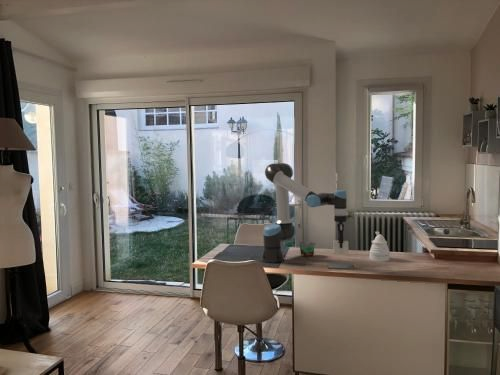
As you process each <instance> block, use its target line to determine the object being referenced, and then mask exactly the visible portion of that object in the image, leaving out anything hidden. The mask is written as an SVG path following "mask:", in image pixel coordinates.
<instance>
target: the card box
mask: <svg viewBox="0 0 500 375" xmlns="http://www.w3.org/2000/svg"><path fill="white" fill-rule="evenodd" d="M343 241H344V242H343V253H342V254H349V241H348V240H343ZM332 242H333V243H332V244H333V245H332V246H333V248H332V250H333V254H340V253H339V243H338V242H339V240H332Z"/></svg>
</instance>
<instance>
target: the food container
mask: <svg viewBox="0 0 500 375" xmlns="http://www.w3.org/2000/svg"><path fill="white" fill-rule="evenodd" d="M298 245H299V250H300V256H301V257H303V258H311V257H314V255H315V246H316V241H315V240H313V241H305V242H301V241H299V242H298Z"/></svg>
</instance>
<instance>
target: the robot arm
mask: <svg viewBox="0 0 500 375" xmlns="http://www.w3.org/2000/svg"><path fill="white" fill-rule="evenodd" d="M264 175H265V178H266V179H267V180H268V181H269V182H271V183H273V185H275V197H276V217H277V218H276V219H277V220H276V221H275V223H272V224H267V225H265V226H264V228H263V250H262V252H261V253H262V254H261V257H260V259H261V260H262V261H261V262H263V261H264V263H268V262H271V263H272V264H273V263H274V264H275V263H276V262H277V263H281V262H283V261H285V260H284V259H285V258H284V254H283V250H282V243H285V242H290V241H291V240H293V239H294V238H295V236H296V233H297V232H296V231H297V229H296V227H295V225H293V221H292V220H291V217H290V216H291V213H290V197H289V196H290V195H289V194H290V193H291V194H293V195H294V196H296V197H298V198H300V199H301V200H302V201H304V202H305V203H306V204H307V206H308V207H310V208H317V207H322V206H333V209H334V210H333V213H334V216H333V217H334V219H333V220H334V222H336V223H337V235H338V236H337V241H339V242H338V243H339V253H338V254H344V253H343V242H344V241H345V240H344V232H345V230H344V229H345V224H344V223H346V222H347V219H348V217H347V212H348V210H349V209H347V198H348V197H347V191H346V190H340V189H337V190H334V191H333V193H331V192H319V193H316V192H314V191H313V190H310V189H309V188H307V187H306V186H304V185H303V184H301V183H299V182H297V181H296V180H294V179H292V177H293V175H294V170H293V168H292V166H291V165H290V164H288V163H286V162H285V163H284V162H283V163H282V162H280V163H278V162H277V163H270V164H268V165H267V166H266V168H265V170H264ZM289 192H290V193H289ZM271 263H270V264H271Z"/></svg>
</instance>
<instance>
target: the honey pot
mask: <svg viewBox="0 0 500 375" xmlns="http://www.w3.org/2000/svg"><path fill="white" fill-rule="evenodd" d="M375 235H376V236H375V238H374V239H373V240H371V243H372V244H371V246H370V249H369V259H370V260H371V261H375V262H387V261H388V260H389V261H390V258H391V257H390V256H391V254H390V252H391V251H390V249H389V246H388V241H387V240H386V239H385V237H384V235H382V234H381V233H380V231H375Z"/></svg>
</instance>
